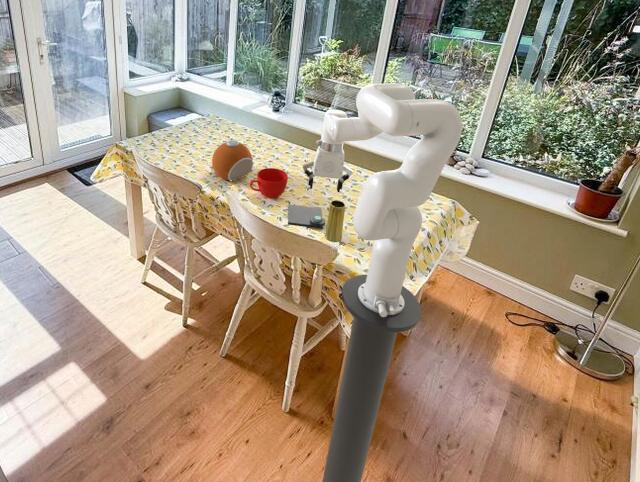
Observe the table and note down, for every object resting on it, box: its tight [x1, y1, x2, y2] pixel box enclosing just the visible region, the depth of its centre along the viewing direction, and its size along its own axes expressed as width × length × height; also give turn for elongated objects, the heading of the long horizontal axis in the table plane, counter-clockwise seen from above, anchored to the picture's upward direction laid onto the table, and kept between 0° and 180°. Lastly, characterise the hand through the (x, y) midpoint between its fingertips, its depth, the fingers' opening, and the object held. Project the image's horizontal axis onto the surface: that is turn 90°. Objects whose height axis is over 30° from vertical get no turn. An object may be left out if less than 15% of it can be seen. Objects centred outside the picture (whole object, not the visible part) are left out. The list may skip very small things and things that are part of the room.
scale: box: [287, 204, 326, 230], centre depth 161 cm, size 15×14×2 cm
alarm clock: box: [211, 139, 254, 181], centre depth 192 cm, size 19×18×17 cm
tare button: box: [314, 216, 323, 222], centre depth 156 cm, size 3×3×1 cm
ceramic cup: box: [249, 167, 289, 199], centre depth 176 cm, size 13×17×10 cm
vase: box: [324, 199, 347, 243], centre depth 147 cm, size 6×6×14 cm
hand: (324, 188), depth 148 cm, fingers open, 9 cm apart
